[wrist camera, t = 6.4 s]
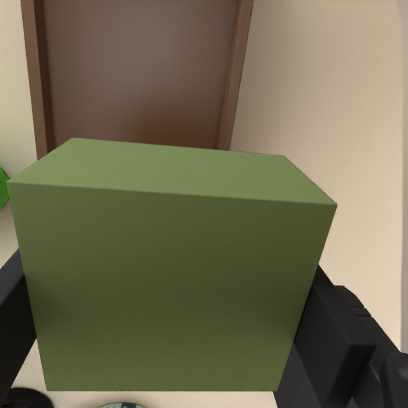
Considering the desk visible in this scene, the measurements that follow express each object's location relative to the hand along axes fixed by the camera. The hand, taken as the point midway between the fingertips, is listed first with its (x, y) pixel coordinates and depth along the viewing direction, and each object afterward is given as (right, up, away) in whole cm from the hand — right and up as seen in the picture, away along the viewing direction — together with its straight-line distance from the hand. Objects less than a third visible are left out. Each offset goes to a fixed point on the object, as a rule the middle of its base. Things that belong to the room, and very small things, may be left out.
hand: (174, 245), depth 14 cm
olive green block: (0, +1, +1) cm, 1 cm away
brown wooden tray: (-4, +9, +10) cm, 14 cm away
